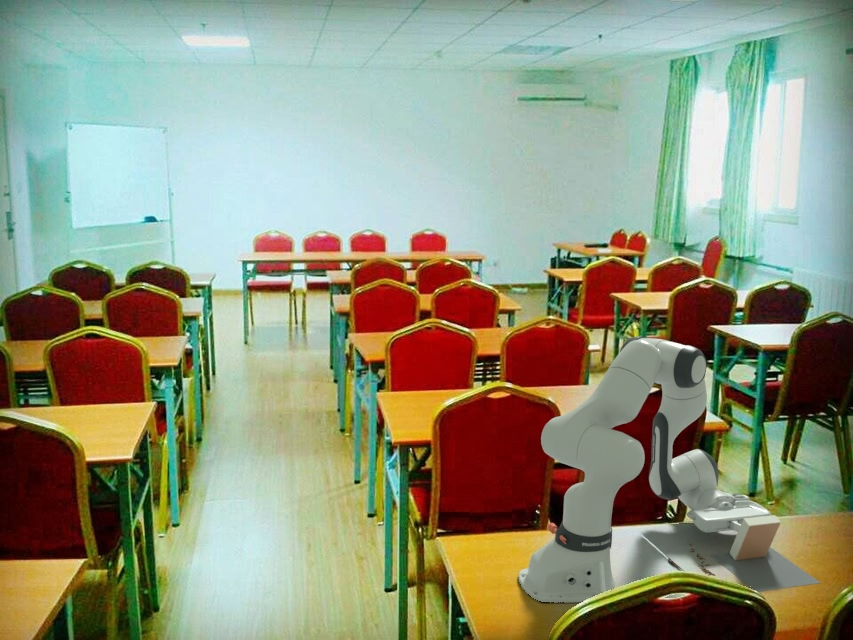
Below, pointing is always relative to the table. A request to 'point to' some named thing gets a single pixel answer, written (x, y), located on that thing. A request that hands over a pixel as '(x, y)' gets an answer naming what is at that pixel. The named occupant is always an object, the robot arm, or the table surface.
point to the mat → (766, 571)
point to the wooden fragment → (698, 566)
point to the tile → (754, 537)
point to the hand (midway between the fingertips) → (750, 531)
